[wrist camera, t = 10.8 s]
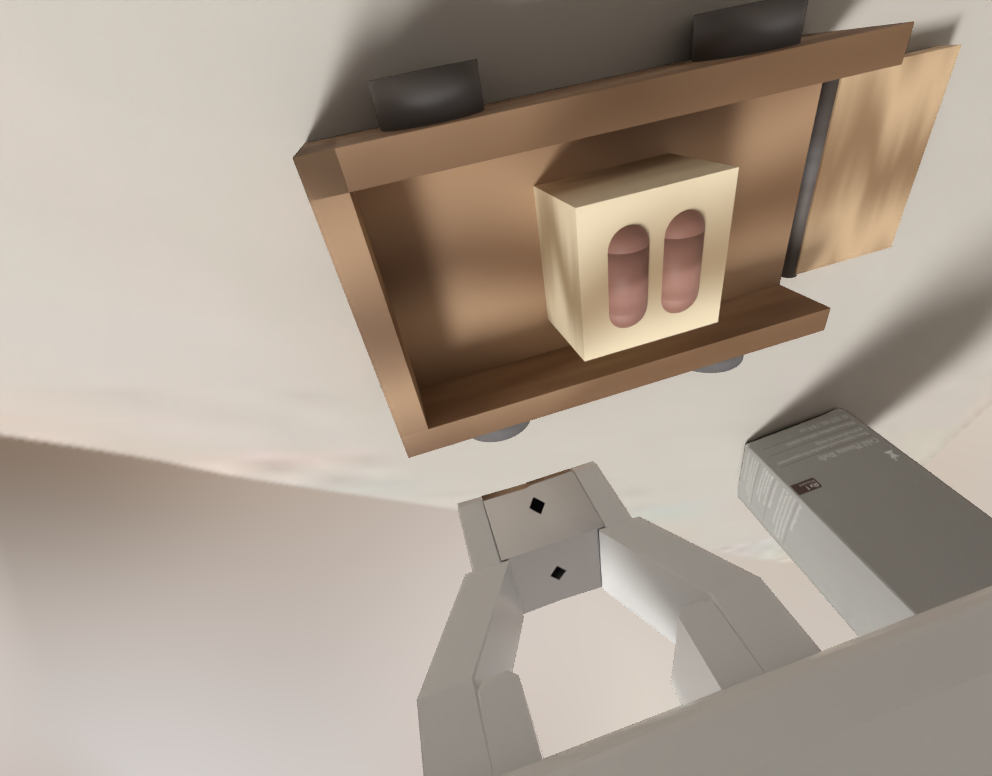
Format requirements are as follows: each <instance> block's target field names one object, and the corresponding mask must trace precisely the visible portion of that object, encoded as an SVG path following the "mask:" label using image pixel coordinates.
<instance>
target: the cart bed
mask: <svg viewBox="0 0 992 776" xmlns="http://www.w3.org/2000/svg"><path fill="white" fill-rule="evenodd" d="M807 4H808V0H764V1H759V2H754V3H749V4H745V5H740V6H735V7H730V8H726V9H721V10H716V11H711V12H707V13H702V14H698V15H695V16H694V30H693V45H692V59H691V60H687V61H683V62H678V63H673V64H669V65H664V66H659V67H655V68H650V69H646V70H641V71H636V72H632V73H627V74H622V75H618V76H613V77H609V78H604V79H599V80H595V81H590V82H585V83H581V84H576V85H572V86H567V87H562V88H558V89H553V90H548V91H544V92H539V93H535V94H530V95H525V96H521V97H516V98H511V99H507V100H502V101H498V102H493V103H488V104H483V97H482V91H481V84H480V78H479V71H478V65H477V59H474V60H469V61H464V62H459V63H454V64H449V65H444V66H439V67H434V68H429V69H424V70H419V71H414V72H409V73H404V74H400V75H395V76H390V77H385V78H381V79H376V80H371V81H367V82H368V86H369V89H370V93H371V96H372V100H373V104H374V107H375V111H376V115H377V118H378V122H379V126H380V127H377V128H373V129H368V130H363V131H359V132H354V133H349V134H345V135H340V136H336V137H331V138H326V139H322V140H317V141H312V142H308V143H305V144H304V145H303V146H302V147H301V148H300V150H299V151H298V152H297V153H296V154H295V156H294V157H293V160H294V163H295V166H296V168H297V171H298V173H299V176H300V178H301V181H302V184H303V186H304V189H305V191H306V194H307V197H308V199H309V202H310V204H311V207H312V209H313V212H314V215H315V217H316V220H317V222H318V225H319V228H320V230H321V233H322V235H323V238H324V240H325V243H326V246H327V248H328V251H329V253H330V256H331V259H332V261H333V264H334V266H335V269H336V271H337V274H338V277H339V279H340V282H341V284H342V287H343V290H344V292H345V295H346V297H347V300H348V302H349V305H350V308H351V310H352V313H353V315H354V318H355V321H356V323H357V326H358V328H359V331H360V333H361V336H362V339H363V341H364V344H365V346H366V349H367V352H368V354H369V357H370V359H371V362H372V364H373V367H374V370H375V372H376V375H377V377H378V380H379V383H380V385H381V388H382V390H383V393H384V395H385V398H386V401H387V403H388V406H389V408H390V411H391V414H392V416H393V419H394V421H395V424H396V426H397V429H398V432H399V434H400V437H401V439H402V442H403V445H404V447H405V450H406V452H407V455H408V457H409V458H410V457H413V456H416V455H420V454H423V453H426V452H429V451H433V450H436V449H439V448H442V447H446V446H449V445H452V444H455V443H459V442H462V441H465V440H468V439H472V438H473V439H475V440H478V441H483V442H497V441H502V440H506V439H509V438H512V437H514V436H516V435H517V434H519V433H520V432H522V431H523V430H524V429H525V428H526V427H527V425H528V424H529V422H530V420H533V419H537V418H540V417H543V416H546V415H550V414H553V413H556V412H559V411H563V410H566V409H569V408H572V407H575V406H579V405H582V404H585V403H588V402H592V401H595V400H598V399H601V398H605V397H608V396H611V395H614V394H618V393H621V392H624V391H627V390H631V389H634V388H637V387H640V386H644V385H647V384H650V383H653V382H657V381H660V380H663V379H666V378H670V377H673V376H676V375H679V374H683V373H686V372H689V371H696V372H702V373H718V372H724V371H728V370H731V369H733V368H735V367H737V366H738V365H739V364H740V363H741V362H742V360H743V356H744V354H748V353H751V352H754V351H757V350H761V349H764V348H767V347H770V346H774V345H777V344H780V343H783V342H787V341H790V340H793V339H796V338H800V337H803V336H806V335H809V334H813V333H816V332H819V331H822V330H824V329H825V325H826V322H827V318H828V315H829V312H830V308H829V307H827V306H825V305H823V304H821V303H818V302H816V301H814V300H812V299H810V298H807V297H805V296H803V295H801V294H799V293H796V292H794V291H792V290H790V289H788V288H785V287H783V286H781V285H779V284H780V280H781V275H782V270H783V265H784V261H785V256H786V251H787V247H788V242H789V237H790V233H791V228H792V223H793V219H794V214H795V209H796V205H797V200H798V195H799V190H800V186H801V181H802V176H803V172H804V167H805V162H806V158H807V153H808V148H809V144H810V139H811V134H812V130H813V125H814V120H815V115H816V111H817V106H818V101H819V97H820V92H821V87H822V83H824V82H828V81H832V80H837V79H841V78H845V77H849V76H854V75H858V74H862V73H867V72H871V71H875V70H880V69H884V68H888V67H893V66H897V65H901V64H902V62H903V59H904V55H905V52H906V49H907V45H908V42H909V38H910V35H911V32H912V28H913V25H914V22H906V23H898V24H890V25H881V26H873V27H865V28H856V29H848V30H840V31H832V32H823V33H815V34H808V35H803V36H802V31H803V26H804V20H805V15H806V9H807ZM668 153H671V154H676V155H681V156H686V157H691V158H696V159H701V160H706V161H711V162H716V163H721V164H726V165H731V166H736V167H739V170H738V177H737V185H736V192H735V200H734V207H733V214H732V222H731V229H730V236H729V244H728V251H727V258H726V266H725V273H724V281H723V288H722V295H721V303H720V310H719V317H718V322H717V323H713V324H710V325H706V326H703V327H700V328H696V329H693V330H690V331H686V332H683V333H679V334H676V335H673V336H669V337H666V338H663V339H659V340H656V341H652V342H649V343H646V344H642V345H639V346H635V347H632V348H629V349H625V350H622V351H619V352H615V353H612V354H608V355H605V356H602V357H598V358H595V359H592V360H588V361H584V360H583V359H582V358H581V357H580V356H579V354H578V353H577V352H576V351H575V350H574V349H573V347H572V346H571V345H570V344H569V343H568V342H567V340H566V339H565V338H564V337H563V336H562V335H561V333H560V332H559V331H558V330H557V329H556V328H555V327H554V325H553V324H552V323H551V322H550V321H549V320H548V315H547V306H546V296H545V287H544V278H543V269H542V260H541V251H540V242H539V232H538V223H537V214H536V205H535V196H534V187H533V186H535V185H539V184H544V183H548V182H552V181H556V180H560V179H564V178H568V177H573V176H577V175H581V174H585V173H589V172H593V171H597V170H601V169H606V168H610V167H614V166H618V165H622V164H626V163H630V162H634V161H639V160H643V159H647V158H651V157H655V156H659V155H663V154H668Z"/></svg>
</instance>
